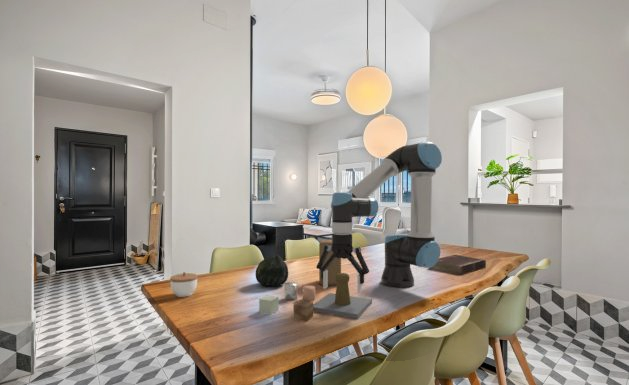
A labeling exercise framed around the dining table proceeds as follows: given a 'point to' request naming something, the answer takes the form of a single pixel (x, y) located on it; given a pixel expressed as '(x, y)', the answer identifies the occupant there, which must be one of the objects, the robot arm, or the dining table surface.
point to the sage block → (268, 304)
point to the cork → (342, 290)
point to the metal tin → (291, 291)
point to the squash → (272, 271)
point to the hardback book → (458, 264)
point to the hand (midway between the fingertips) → (342, 290)
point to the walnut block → (303, 310)
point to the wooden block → (333, 267)
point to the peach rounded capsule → (308, 293)
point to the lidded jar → (184, 284)
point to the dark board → (350, 310)
